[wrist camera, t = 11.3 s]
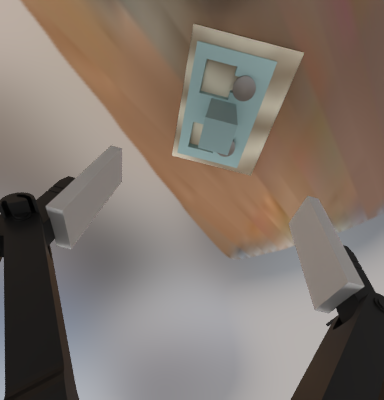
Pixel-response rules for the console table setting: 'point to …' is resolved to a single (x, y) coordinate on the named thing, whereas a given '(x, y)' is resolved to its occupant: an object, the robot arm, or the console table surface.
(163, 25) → the console table surface
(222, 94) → the boss board
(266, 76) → the panel
